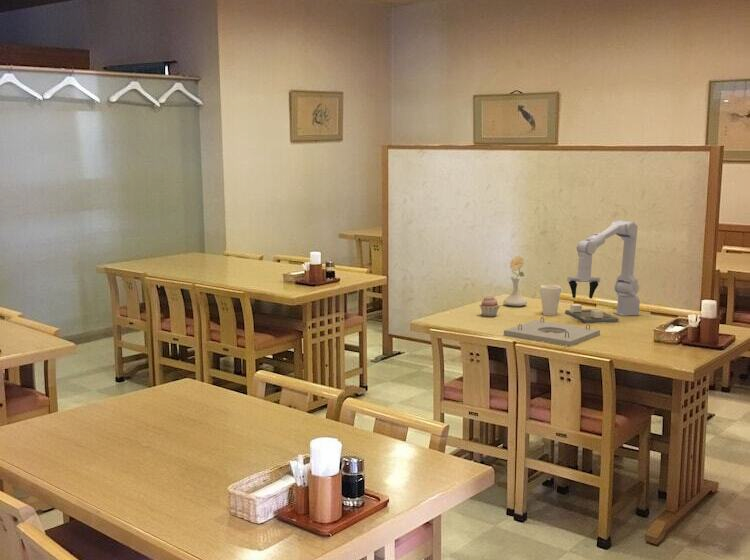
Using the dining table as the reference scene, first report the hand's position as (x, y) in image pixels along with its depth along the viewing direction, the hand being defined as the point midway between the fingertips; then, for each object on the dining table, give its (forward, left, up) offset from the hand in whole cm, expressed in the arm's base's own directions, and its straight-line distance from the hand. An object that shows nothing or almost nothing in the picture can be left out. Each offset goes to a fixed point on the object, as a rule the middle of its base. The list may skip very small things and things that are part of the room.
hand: (582, 297), depth 368 cm
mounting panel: (+23, +24, -11) cm, 36 cm away
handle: (-3, -14, -9) cm, 16 cm away
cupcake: (+37, -18, -11) cm, 43 cm away
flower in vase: (+17, -39, -11) cm, 44 cm away
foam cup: (+8, -17, -11) cm, 21 cm away
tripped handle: (-7, 0, -9) cm, 11 cm away
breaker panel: (-8, -7, -11) cm, 15 cm away
